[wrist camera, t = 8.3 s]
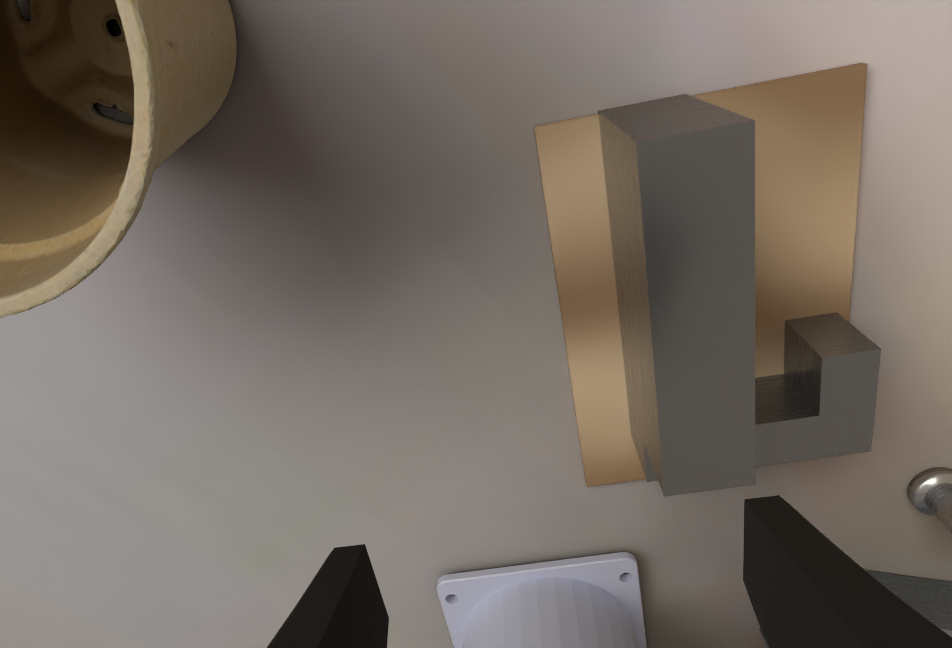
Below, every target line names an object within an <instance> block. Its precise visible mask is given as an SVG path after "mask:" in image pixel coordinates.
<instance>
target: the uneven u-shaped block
mask: <svg viewBox="0 0 952 648" xmlns="http://www.w3.org/2000/svg"><path fill="white" fill-rule="evenodd" d="M598 116H599V126H600V135H601V145H602V155H603V165H604V174H605V184H606V194H607V204H608V214H609V223H610V233H611V243H612V253H613V262H614V272H615V282H616V292H617V301H618V311H619V321H620V331H621V341H622V350H623V360H624V370H625V380H626V389H627V399H628V409H629V419H630V429H631V436H632V439H633V442H634V445H635V448H636V450H637V453H638V456H639V459H640V462H641V465H642V468H643V471H644V473H645V476H646V479H647V482H650V481H657V480H658V481H659V484H660V486H661V489H662V492H663V494H664V496H672V495H679V494H686V493H694V492H701V491H709V490H716V489H723V488H731V487H738V486H746V485H753V484H755V467H759V466H766V465H774V464H781V463H788V462H795V461H803V460H810V459H817V458H824V457H832V456H839V455H846V454H853V453H861V452H868V451H871V445H872V435H873V424H874V414H875V404H876V393H877V383H878V372H879V362H880V352H881V349H880V348H879V347H878V346H877V345H875V344H874V343H873V342H872V341H871V340H869V339H868V338H867V337H866V336H865V335H863V334H862V333H861V332H860V331H859V330H857V329H856V328H855V327H854V326H853V325H852V324H850V323H849V322H848V321H847V320H846V319H844V318H843V317H842V316H841V315H840V314H838V313H837V312H834V313H828V314H822V315H815V316H809V317H803V318H796V319H790V320H785V342H784V374H777V375H771V376H764V377H758V378H755V120H753V119H751V118H748V117H745V116H743V115H740V114H737V113H735V112H732V111H729V110H727V109H724V108H721V107H719V106H716V105H713V104H711V103H708V102H705V101H703V100H700V99H697V98H695V97H692V96H689V95H687V94H683V95H678V96H673V97H667V98H662V99H657V100H652V101H647V102H642V103H636V104H631V105H626V106H621V107H616V108H611V109H605V110H600V111H598Z"/></svg>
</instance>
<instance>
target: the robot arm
mask: <svg viewBox="0 0 952 648" xmlns="http://www.w3.org/2000/svg"><path fill="white" fill-rule="evenodd" d="M623 573H628V574H623ZM743 581H744V583H745V586H746V589H747V592H748V595H749V597H750V600H751V603H752V606H753V609H754V611H755V614H756V617H757V619H758V622H759V625H760V627H761V630H762V633H763V635H764V637H765V639H766V641H767V643H768V646H769V648H952V637H951V636H949V635H948V634H947V633H945V632H944V631H943V630H941V629H940V628H938V627H937V626H936V625H934V624H933V623H932V622H930V621H929V620H928V619H926V618H925V617H924V616H922V615H921V614H920V613H918V612H917V611H916V610H914V609H913V608H912V607H910V606H909V605H908V604H906V603H905V602H904V601H903V600H901V599H900V598H899V597H898V596H896V595H895V594H894V593H892V592H891V591H890V590H889V589H887V588H886V587H885V586H884V585H883V584H881V583H880V582H879V581H878V580H876V579H875V578H874V577H873V576H871V575H870V574H869V573H868V572H867V571H865V570H864V569H863V568H862V567H860V566H859V565H858V564H857V563H856V562H854V561H853V560H852V559H851V558H850V557H849V556H847V555H846V554H845V553H844V552H843V551H842V550H840V549H839V548H838V547H837V546H836V545H835V544H833V543H832V542H831V541H830V540H829V539H828V538H827V537H825V536H824V535H823V534H822V533H821V532H820V531H819V530H818V529H816V528H815V527H814V526H813V525H812V524H811V523H810V522H809V521H807V520H806V519H805V518H804V517H803V516H802V515H801V514H800V513H799V512H797V511H796V510H795V509H794V508H793V507H792V506H791V505H790V504H789V503H787V502H786V501H785V500H784V499H783V498H781V497H780V496H779V495H778V496H770V497H761V498H753V499H745V504H744V565H743ZM437 592H438V596H439V599H440V602H441V606H442V609H443V612H444V615H445V619H446V622H447V625H448V629H449V632H450V635H451V639H452V642H453V645H454V648H647V646H646V637H645V628H644V619H643V609H642V600H641V591H640V582H639V573H638V565H637V561H636V558H635V556H634V555H633V554H631V553H628V552H619V553H611V554H603V555H595V556H588V557H580V558H572V559H564V560H556V561H549V562H541V563H533V564H525V565H517V566H509V567H502V568H494V569H486V570H478V571H470V572H463V573H455V574H447V575H444V576H442V577H440V578H439V580H438V582H437ZM450 594H451V595H454V596H450ZM388 622H389V617H388V614H387V611H386V608H385V605H384V602H383V599H382V596H381V593H380V589H379V586H378V583H377V580H376V577H375V574H374V571H373V568H372V565H371V562H370V559H369V556H368V553H367V549H366V546H365V544H363V545H355V546H346V547H338V548H334V549H333V551H332V552H331V553H330V554H329V556H328V558H327V559H326V561H325V562H324V564H323V565H322V567H321V568H320V570H319V571H318V573H317V574H316V576H315V577H314V579H313V581H312V582H311V584H310V585H309V587H308V588H307V590H306V591H305V593H304V594H303V596H302V597H301V599H300V600H299V602H298V603H297V605H296V606H295V608H294V609H293V611H292V612H291V614H290V615H289V617H288V618H287V619H286V621H285V622H284V624H283V625H282V627H281V628H280V629H279V631H278V632H277V634H276V635H275V637H274V638H273V640H272V641H271V642H270V644H269V645H268V647H267V648H387V637H388Z"/></svg>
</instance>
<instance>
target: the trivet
mask: <svg viewBox="0 0 952 648" xmlns="http://www.w3.org/2000/svg"><path fill="white" fill-rule="evenodd" d="M866 73H867V64H866V63H859V64H853V65H848V66H843V67H838V68H833V69H827V70H822V71H817V72H812V73H807V74H802V75H796V76H791V77H786V78H781V79H776V80H771V81H765V82H760V83H755V84H750V85H745V86H740V87H734V88H729V89H724V90H719V91H714V92H709V93H703V94H698V95H693V96H692V97H695V98H697V99H700V100H703V101H705V102H708V103H711V104H713V105H716V106H719V107H721V108H724V109H727V110H729V111H732V112H735V113H737V114H740V115H743V116H745V117H748V118H751V119H753V120H755V378H758V377H764V376H771V375H777V374H784V342H785V320H790V319H796V318H803V317H809V316H815V315H822V314H828V313H834V312H837V313H838V314H840V315H841V316H842V317H843V318H844V319H846V320H847V321H848V322H849V315H850V301H851V287H852V272H853V258H854V244H855V230H856V215H857V201H858V187H859V173H860V158H861V144H862V130H863V116H864V101H865V87H866ZM534 130H535V137H536V144H537V151H538V158H539V165H540V172H541V179H542V185H543V192H544V199H545V206H546V213H547V220H548V227H549V234H550V240H551V247H552V254H553V261H554V268H555V275H556V282H557V288H558V295H559V302H560V309H561V316H562V323H563V330H564V337H565V343H566V350H567V357H568V364H569V371H570V378H571V385H572V392H573V398H574V405H575V412H576V419H577V426H578V433H579V440H580V446H581V453H582V460H583V467H584V474H585V481H586V486H587V487H590V486H597V485H604V484H611V483H619V482H626V481H633V480H640V479H646V476H645V473H644V471H643V468H642V465H641V462H640V459H639V456H638V453H637V450H636V448H635V445H634V442H633V439H632V436H631V429H630V419H629V409H628V399H627V389H626V380H625V370H624V360H623V350H622V341H621V331H620V321H619V311H618V301H617V292H616V282H615V272H614V262H613V253H612V243H611V233H610V223H609V214H608V204H607V194H606V184H605V174H604V165H603V155H602V145H601V135H600V126H599V116H598V114H595V115H590V116H584V117H579V118H574V119H569V120H564V121H559V122H553V123H548V124H543V125H538V126H534Z"/></svg>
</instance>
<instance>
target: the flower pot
mask: <svg viewBox="0 0 952 648" xmlns="http://www.w3.org/2000/svg"><path fill="white" fill-rule="evenodd" d="M30 13H31V16H32V19H31V21H25V20H24V19H23V17H22V12H21V10H20V8H19V5H18V2H17V0H0V318H2V317H4V316H9V315H13V314H17V313H20V312H23V311H27V310H30V309H32V308H34V307H36V306H38V305H42V304H44V303H46V302H49V301H51V300H53V299H55V298H57V297H59V296H60V295H62V294H64V293H65V292H67V291H69V290H70V289H72V288H73V287H75V286H76V285H77V284H79V283H80V282H81V281H83V280H84V279H85V278H87V277H88V276H89V275H90V274H91V273H93V272H94V271H95V270H96V269H97V268H98V267H99V266H100V265H101V264H102V263H103V262H104V261H105V260H106V259H107V257H108V256H109V255H110V254H111V253H112V252H113V250H114V249H115V248H116V247H117V245H118V244H119V243H120V242H121V241H122V239H123V238H124V236H125V235H126V233H127V231H128V230H129V228H130V226H131V225H132V223H133V222H134V220H135V218H136V216H137V214H138V212H139V211H140V209H141V206H142V203H143V201H144V198H145V195H146V192H147V190H148V187H149V184H150V182H151V179H152V175H153V171H154V170H155V169H156V168H157V167H158V166H160V165H161V164H162V163H163V162H164V161H165V160H166V159H167V158H168V157H169V156H170V155H171V154H173V153H174V152H175V151H176V150H177V149H178V148H179V147H180V146H182V145H183V144H184V143H185V142H186V141H187V140H188V139H190V138H191V137H192V136H194V135H195V134H196V133H198V132H199V131H200V130H201V129H202V128H203V127H204V126H205V125H206V124H207V123H209V122H210V120H211V119H212V118H213V117H214V116H215V114H216V113H217V112H218V111H219V109H220V107H221V106H222V104H223V102H224V100H225V98H226V96H227V94H228V92H229V89H230V86H231V84H232V80H233V76H234V72H235V66H236V52H237V48H236V32H235V23H234V18H233V14H232V10H231V7H230V4H229V1H228V0H31V1H30ZM111 19H116V20H117V22H118V24H119V26H120V28H121V32H122V34H121V35H119V36H112V35H111V34H110V33H109V31H108V28H107V22H108V21H109V20H111ZM94 103H99V104H101V105H105V106H107V107H113V105H117V107H116V108H117V109H119V110H120V111H122V112H125V113H127V114H130V116H131V118H132V124H130V123H125V122H120V121H117V120H114V119H110V118H107V117H105V116H103V115H101V114H100V113H98V112H97V111H96V109H95V108H94V106H93V104H94Z"/></svg>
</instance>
